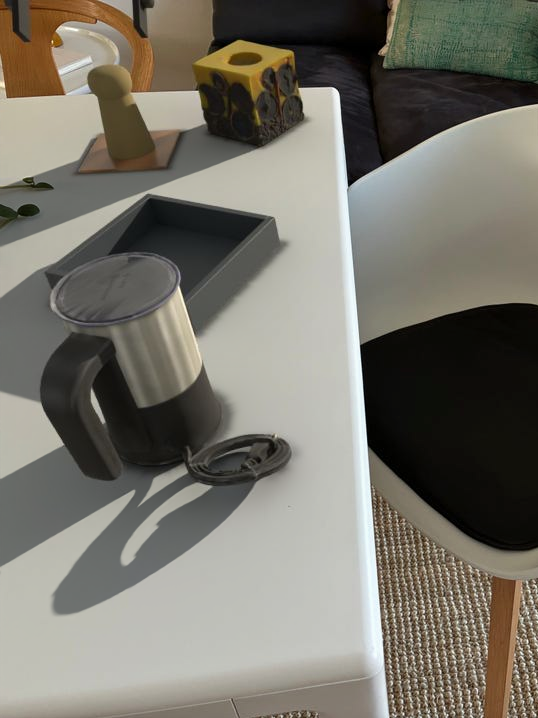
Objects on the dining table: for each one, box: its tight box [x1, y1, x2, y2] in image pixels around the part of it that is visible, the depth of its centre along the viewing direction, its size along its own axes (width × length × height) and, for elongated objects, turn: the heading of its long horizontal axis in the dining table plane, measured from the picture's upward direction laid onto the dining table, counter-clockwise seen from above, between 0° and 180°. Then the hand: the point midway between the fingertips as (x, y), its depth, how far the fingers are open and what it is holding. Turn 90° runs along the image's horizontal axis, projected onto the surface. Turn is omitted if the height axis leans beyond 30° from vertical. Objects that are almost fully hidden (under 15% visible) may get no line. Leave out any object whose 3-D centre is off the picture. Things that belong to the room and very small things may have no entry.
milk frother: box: [39, 252, 292, 487], centre depth 60 cm, size 14×16×15 cm
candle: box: [191, 39, 305, 147], centre depth 108 cm, size 10×10×10 cm
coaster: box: [77, 129, 181, 174], centre depth 105 cm, size 11×11×1 cm
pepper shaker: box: [86, 63, 155, 159], centre depth 102 cm, size 6×6×11 cm
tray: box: [43, 193, 282, 335], centre depth 83 cm, size 17×17×4 cm
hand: (81, 35), depth 92 cm, fingers open, 13 cm apart
